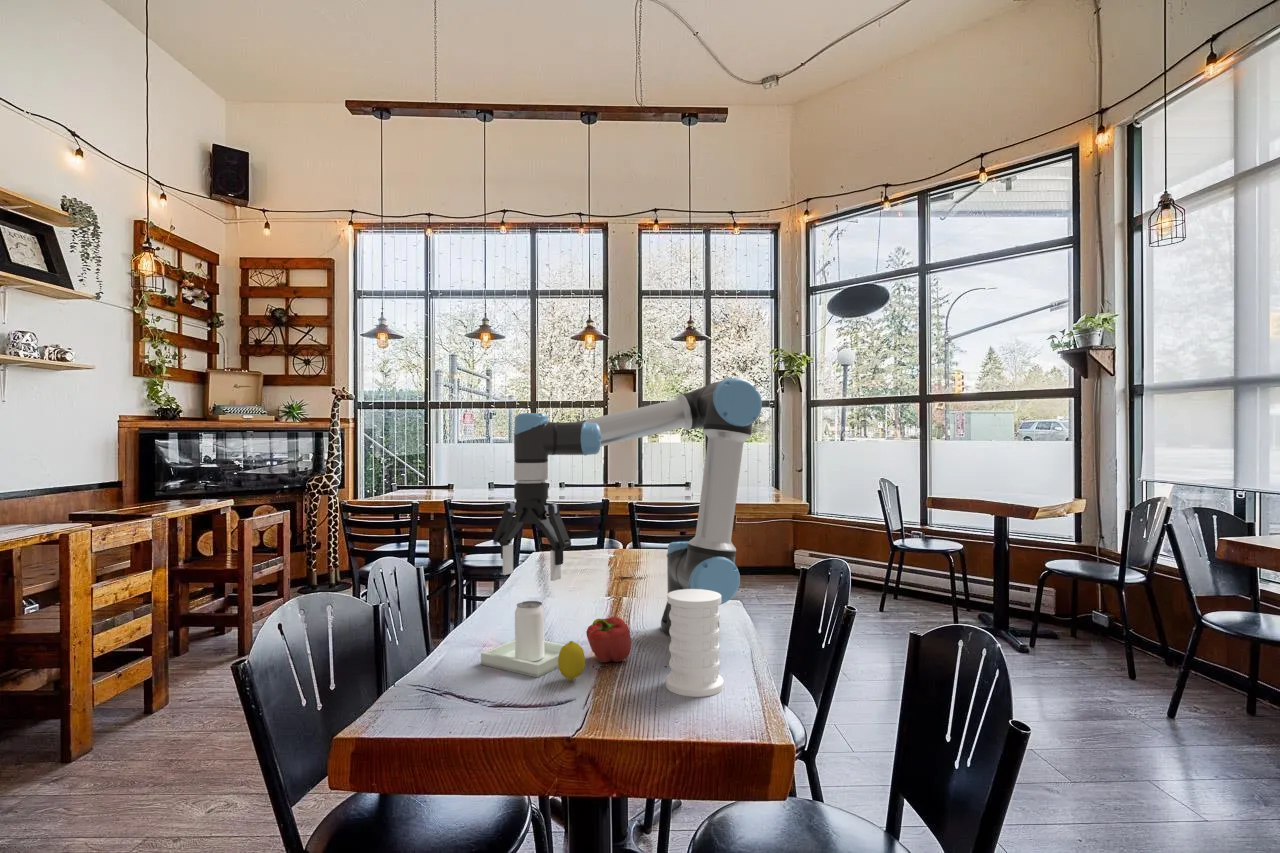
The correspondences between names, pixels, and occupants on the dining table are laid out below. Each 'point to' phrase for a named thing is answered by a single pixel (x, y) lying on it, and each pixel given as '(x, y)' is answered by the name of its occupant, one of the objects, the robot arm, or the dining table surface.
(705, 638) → the decorative container
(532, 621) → the can
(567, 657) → the lemon
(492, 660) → the dish
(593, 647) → the vegetable
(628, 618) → the dining table surface
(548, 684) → the dining table surface
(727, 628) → the dining table surface
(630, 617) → the dining table surface
